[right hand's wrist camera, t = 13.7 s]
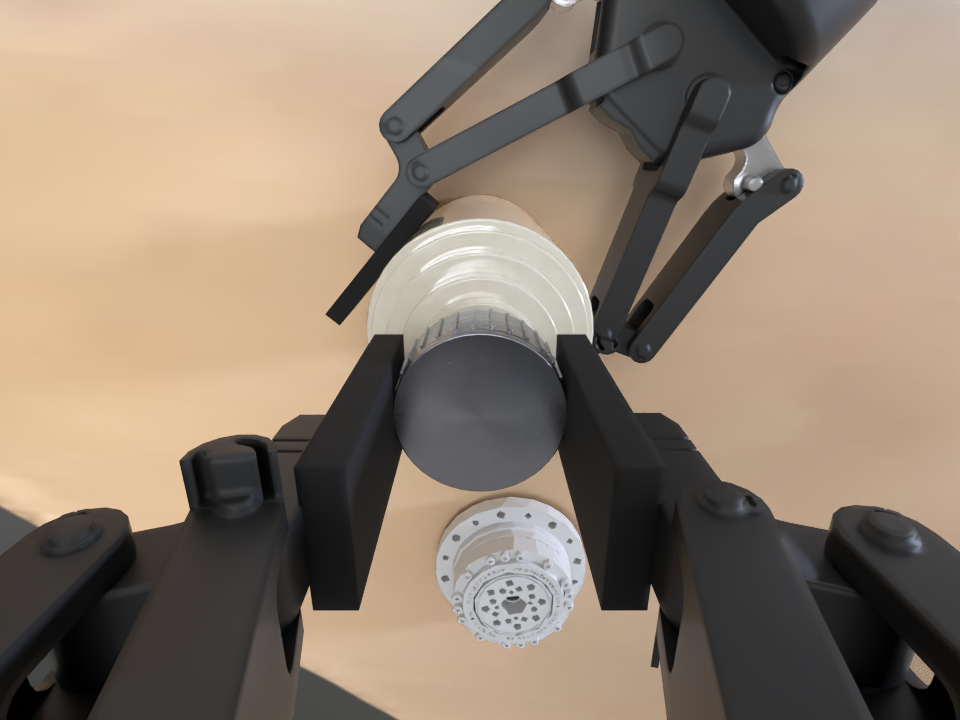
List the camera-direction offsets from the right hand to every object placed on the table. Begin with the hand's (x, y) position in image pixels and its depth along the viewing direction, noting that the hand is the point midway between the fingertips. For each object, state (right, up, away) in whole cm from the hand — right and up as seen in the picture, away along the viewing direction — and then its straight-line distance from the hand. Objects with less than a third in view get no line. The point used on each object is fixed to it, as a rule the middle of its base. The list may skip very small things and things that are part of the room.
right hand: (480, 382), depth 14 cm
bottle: (0, +6, +16) cm, 17 cm away
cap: (0, -1, -2) cm, 2 cm away
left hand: (-3, 0, +11) cm, 11 cm away
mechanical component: (+2, -13, +23) cm, 26 cm away
